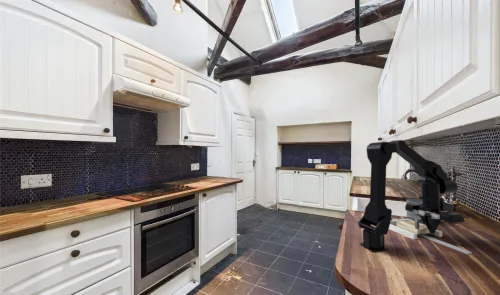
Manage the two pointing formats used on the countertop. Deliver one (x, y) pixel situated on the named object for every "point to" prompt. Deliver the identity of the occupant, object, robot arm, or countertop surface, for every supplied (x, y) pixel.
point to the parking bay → (414, 236)
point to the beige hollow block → (414, 226)
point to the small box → (414, 213)
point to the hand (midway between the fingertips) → (432, 233)
